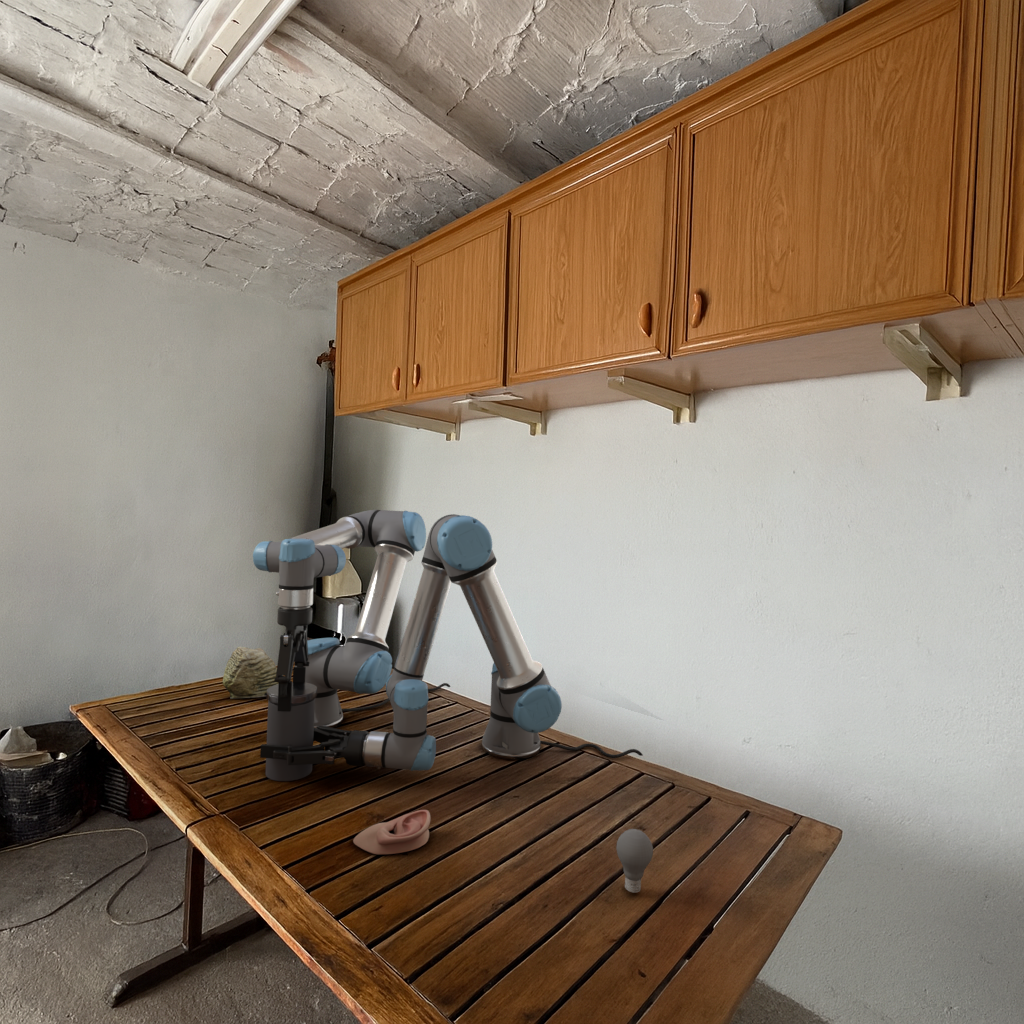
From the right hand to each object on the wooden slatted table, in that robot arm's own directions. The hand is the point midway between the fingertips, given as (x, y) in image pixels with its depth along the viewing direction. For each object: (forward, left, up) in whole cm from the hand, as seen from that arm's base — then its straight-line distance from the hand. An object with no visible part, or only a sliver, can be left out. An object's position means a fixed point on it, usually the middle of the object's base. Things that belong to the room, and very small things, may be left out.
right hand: (272, 741), depth 145 cm
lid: (-4, +2, +12) cm, 13 cm away
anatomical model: (-21, +37, -7) cm, 43 cm away
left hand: (-4, +2, +9) cm, 10 cm away
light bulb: (-57, +64, -7) cm, 86 cm away
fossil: (+5, -58, -7) cm, 59 cm away
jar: (-4, +2, -7) cm, 8 cm away
